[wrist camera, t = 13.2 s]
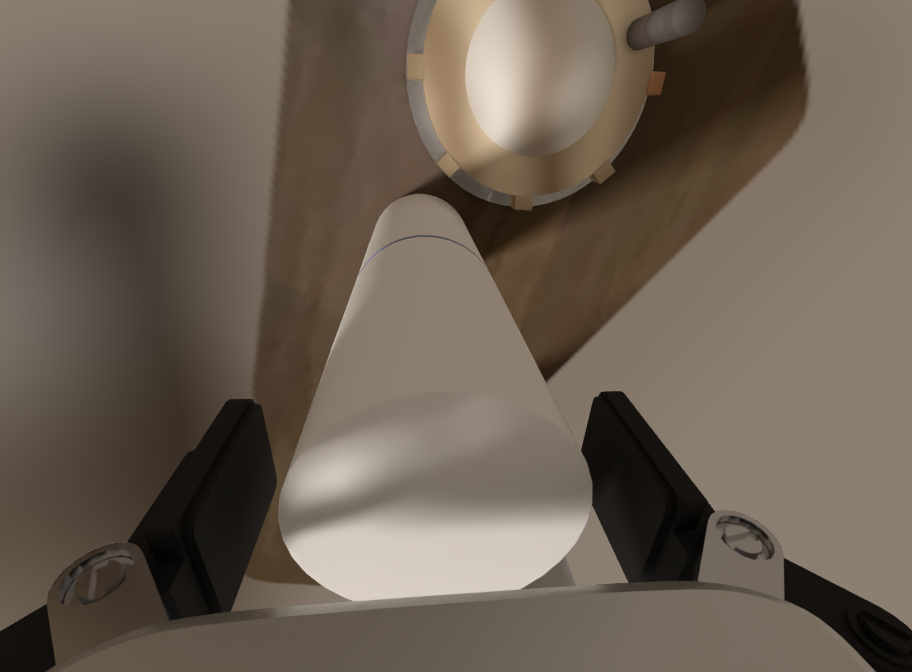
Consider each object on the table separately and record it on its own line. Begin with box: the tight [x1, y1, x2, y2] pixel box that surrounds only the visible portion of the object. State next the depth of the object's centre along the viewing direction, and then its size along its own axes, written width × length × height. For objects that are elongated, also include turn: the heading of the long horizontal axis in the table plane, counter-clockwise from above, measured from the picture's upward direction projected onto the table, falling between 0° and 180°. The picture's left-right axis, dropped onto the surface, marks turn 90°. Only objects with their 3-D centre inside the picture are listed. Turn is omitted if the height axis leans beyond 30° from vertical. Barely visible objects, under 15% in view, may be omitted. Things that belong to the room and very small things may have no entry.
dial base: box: [406, 0, 655, 206], centre depth 27 cm, size 16×16×1 cm
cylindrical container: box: [278, 194, 592, 601], centre depth 21 cm, size 7×7×25 cm
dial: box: [407, 0, 706, 210], centre depth 23 cm, size 15×15×6 cm
